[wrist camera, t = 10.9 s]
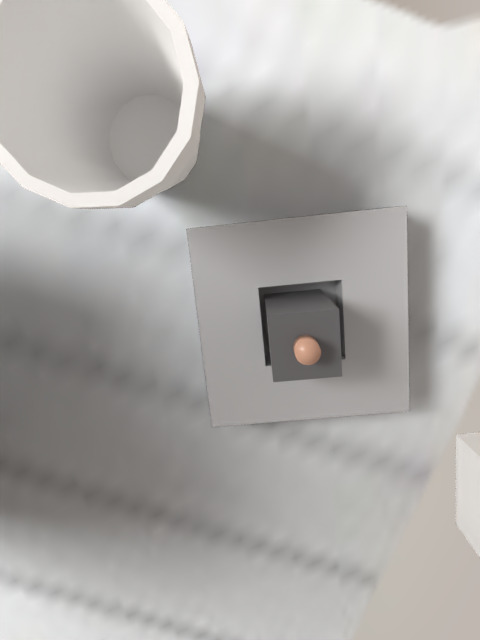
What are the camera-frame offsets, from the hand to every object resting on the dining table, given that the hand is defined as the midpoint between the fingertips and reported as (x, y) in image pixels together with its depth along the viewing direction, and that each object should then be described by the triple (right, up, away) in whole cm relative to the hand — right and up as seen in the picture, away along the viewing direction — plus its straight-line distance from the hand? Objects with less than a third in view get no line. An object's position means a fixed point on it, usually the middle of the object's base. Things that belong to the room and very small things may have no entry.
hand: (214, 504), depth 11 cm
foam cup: (-5, +17, +18) cm, 26 cm away
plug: (+5, +5, +20) cm, 21 cm away
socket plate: (+5, +5, +21) cm, 22 cm away
